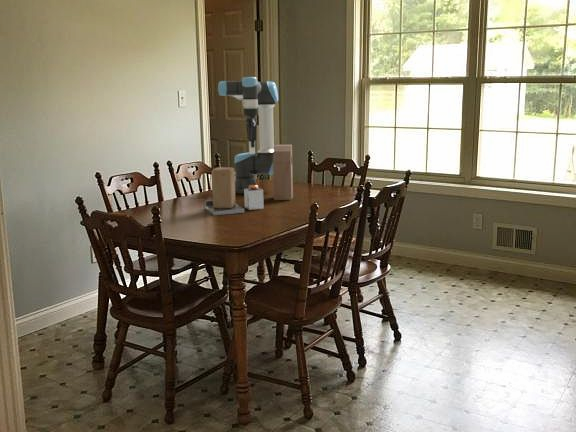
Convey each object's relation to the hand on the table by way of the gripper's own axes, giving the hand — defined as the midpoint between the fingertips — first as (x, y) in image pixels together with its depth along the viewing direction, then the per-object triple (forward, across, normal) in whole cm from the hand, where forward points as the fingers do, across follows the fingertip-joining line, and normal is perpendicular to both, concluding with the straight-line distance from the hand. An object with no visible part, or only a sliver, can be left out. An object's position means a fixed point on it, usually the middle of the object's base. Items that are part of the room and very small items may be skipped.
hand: (252, 153), depth 332 cm
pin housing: (+29, +2, -1) cm, 29 cm away
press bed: (+28, +2, -17) cm, 33 cm away
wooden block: (+27, +2, -17) cm, 32 cm away
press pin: (+28, +2, -1) cm, 28 cm away
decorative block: (+29, -15, +22) cm, 40 cm away
